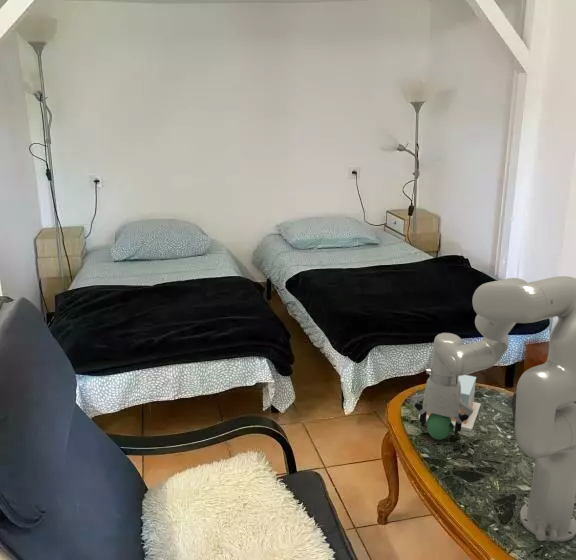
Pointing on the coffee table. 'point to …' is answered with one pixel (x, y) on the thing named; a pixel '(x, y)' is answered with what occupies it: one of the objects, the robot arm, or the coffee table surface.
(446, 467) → the coffee table surface
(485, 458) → the coffee table surface
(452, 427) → the alien toy
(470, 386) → the brick tower
